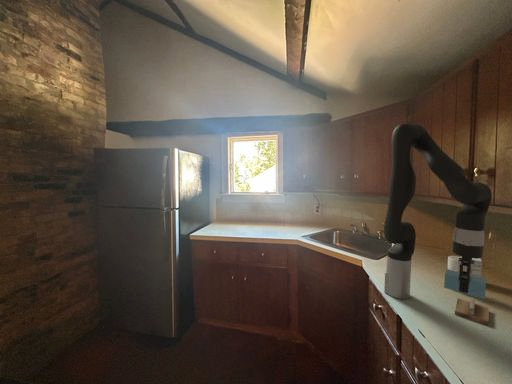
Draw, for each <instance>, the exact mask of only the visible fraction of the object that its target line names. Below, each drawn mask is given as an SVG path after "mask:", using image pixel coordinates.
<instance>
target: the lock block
mask: <svg viewBox="0 0 512 384" xmlns="http://www.w3.org/2000/svg"><path fill="white" fill-rule="evenodd" d="M462 278H465V279H467V277H466V276H462ZM458 279H459V273H458V272H456V271H452V270H448V268H447V269H446V271H445V273H444V284H443V288H445V289H448V290H451V291H454V292H457V293H460V294H465V295H468V296H471V297H475V298H479V299H480V300H481V299H482V300H485V298H486V288H487V278H484V277H482V276H481V277H477V276H473V275H472V276H470V280H469V281H470V282H469V286H468V293H463V292H460V291H459V283H460V281H459V280H458Z"/></svg>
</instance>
